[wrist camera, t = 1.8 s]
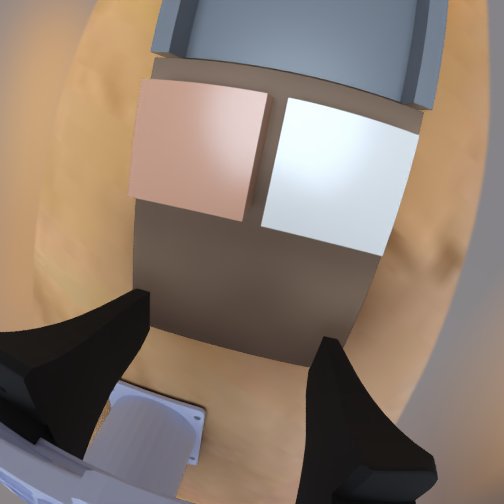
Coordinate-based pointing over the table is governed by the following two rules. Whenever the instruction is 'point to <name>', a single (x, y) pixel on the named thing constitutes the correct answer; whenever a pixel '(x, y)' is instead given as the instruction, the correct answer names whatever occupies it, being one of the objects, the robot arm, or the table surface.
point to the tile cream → (338, 177)
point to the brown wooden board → (255, 241)
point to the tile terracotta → (198, 146)
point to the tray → (317, 40)
